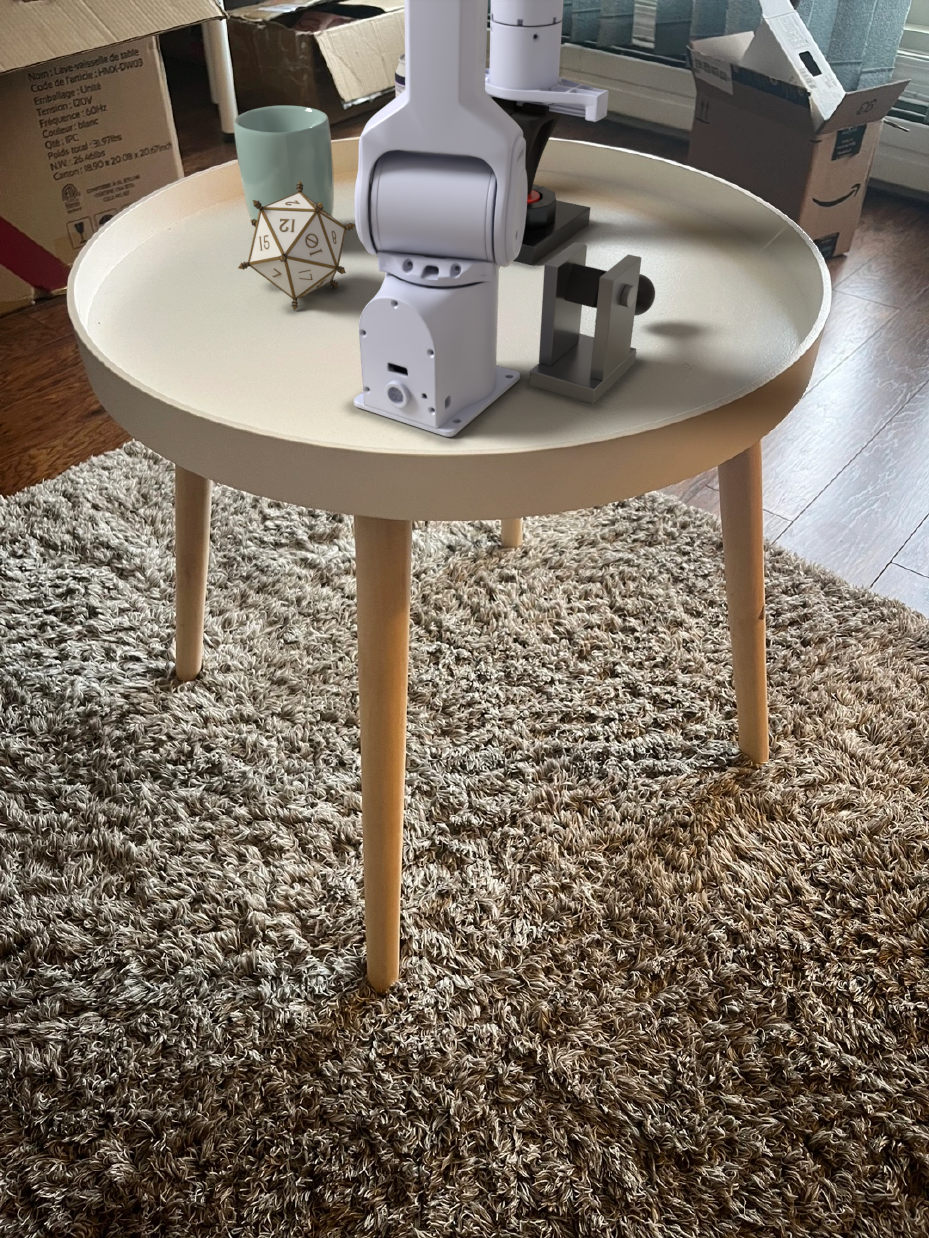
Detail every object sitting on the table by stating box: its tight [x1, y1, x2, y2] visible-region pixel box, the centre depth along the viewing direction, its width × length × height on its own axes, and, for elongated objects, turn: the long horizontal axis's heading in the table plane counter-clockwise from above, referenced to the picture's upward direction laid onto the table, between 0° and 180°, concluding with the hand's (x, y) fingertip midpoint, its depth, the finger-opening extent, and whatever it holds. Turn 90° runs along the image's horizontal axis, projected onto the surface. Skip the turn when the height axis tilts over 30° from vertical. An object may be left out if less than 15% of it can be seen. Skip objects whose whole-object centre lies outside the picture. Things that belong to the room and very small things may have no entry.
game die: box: [237, 181, 356, 312], centre depth 78 cm, size 9×8×10 cm
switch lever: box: [564, 263, 656, 317], centre depth 71 cm, size 12×3×3 cm, turn 149°
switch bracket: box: [528, 241, 642, 405], centre depth 69 cm, size 7×6×8 cm
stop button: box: [527, 190, 540, 204], centre depth 89 cm, size 4×4×2 cm
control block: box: [512, 183, 591, 267], centre depth 90 cm, size 11×9×4 cm
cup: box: [233, 105, 335, 229], centre depth 87 cm, size 8×8×10 cm
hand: (519, 195), depth 88 cm, fingers closed, pressing on stop button
